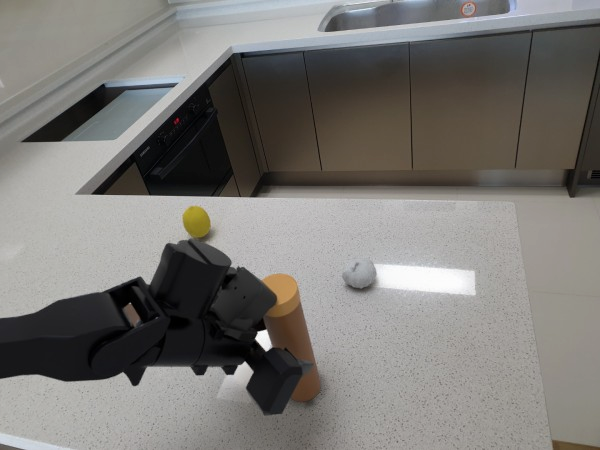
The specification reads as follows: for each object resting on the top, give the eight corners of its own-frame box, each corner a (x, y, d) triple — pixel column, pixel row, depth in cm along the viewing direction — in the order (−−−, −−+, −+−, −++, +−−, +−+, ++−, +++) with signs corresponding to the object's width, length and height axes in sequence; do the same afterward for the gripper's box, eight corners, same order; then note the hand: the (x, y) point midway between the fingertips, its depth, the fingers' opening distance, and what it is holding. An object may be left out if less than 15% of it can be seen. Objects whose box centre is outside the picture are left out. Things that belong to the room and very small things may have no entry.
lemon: (212, 243, 97) (201, 212, 92) (187, 246, 97) (174, 216, 92) (216, 227, 101) (206, 197, 96) (192, 230, 102) (180, 200, 97)
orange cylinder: (302, 409, 63) (272, 312, 51) (278, 387, 67) (245, 291, 55) (329, 384, 66) (306, 286, 54) (304, 364, 69) (278, 267, 57)
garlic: (354, 299, 78) (351, 277, 74) (338, 280, 82) (334, 258, 79) (384, 284, 79) (382, 262, 76) (367, 266, 83) (364, 245, 80)
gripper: (267, 324, 42) (367, 333, 52) (184, 236, 55) (278, 257, 66) (217, 424, 43) (324, 413, 54) (147, 315, 56) (245, 324, 67)
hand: (290, 344), depth 60 cm, fingers open, 9 cm apart
